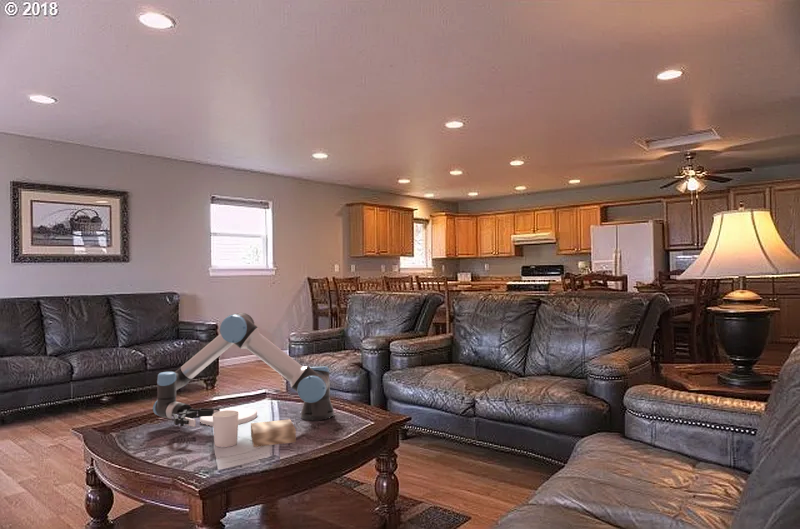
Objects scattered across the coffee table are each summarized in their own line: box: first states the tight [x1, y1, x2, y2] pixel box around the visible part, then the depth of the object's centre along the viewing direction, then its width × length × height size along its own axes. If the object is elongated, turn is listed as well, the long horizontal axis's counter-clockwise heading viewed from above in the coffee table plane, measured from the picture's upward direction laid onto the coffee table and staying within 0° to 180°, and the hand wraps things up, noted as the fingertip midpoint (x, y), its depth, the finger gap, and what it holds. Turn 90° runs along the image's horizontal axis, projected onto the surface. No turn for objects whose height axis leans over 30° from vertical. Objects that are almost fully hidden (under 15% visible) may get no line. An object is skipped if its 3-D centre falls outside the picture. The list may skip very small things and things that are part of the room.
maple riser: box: [250, 418, 297, 448], centre depth 220 cm, size 16×16×5 cm
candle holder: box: [212, 410, 239, 448], centre depth 214 cm, size 10×10×12 cm
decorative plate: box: [199, 406, 258, 427], centre depth 253 cm, size 25×4×25 cm
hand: (209, 419), depth 220 cm, fingers open, 13 cm apart
